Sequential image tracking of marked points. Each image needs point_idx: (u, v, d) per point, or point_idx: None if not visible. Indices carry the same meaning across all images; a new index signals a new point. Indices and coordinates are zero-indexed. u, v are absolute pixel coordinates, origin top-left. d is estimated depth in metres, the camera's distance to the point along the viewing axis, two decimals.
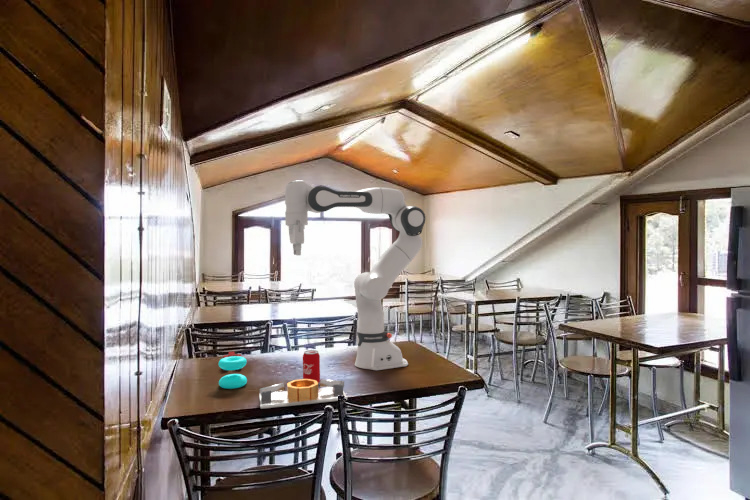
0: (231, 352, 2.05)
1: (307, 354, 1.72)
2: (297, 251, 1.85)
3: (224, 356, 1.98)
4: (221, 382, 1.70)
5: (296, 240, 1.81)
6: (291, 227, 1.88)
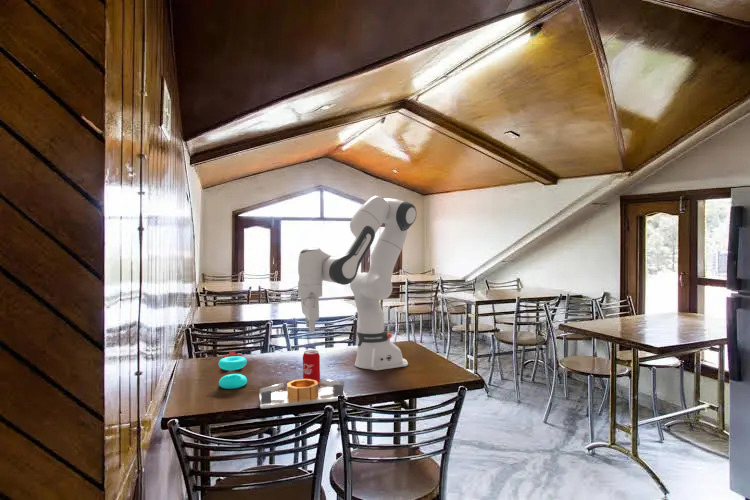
0: (231, 352, 2.06)
1: (307, 354, 1.72)
2: (311, 327, 1.68)
3: (224, 356, 1.99)
4: (221, 382, 1.70)
5: (310, 317, 1.64)
6: (304, 300, 1.71)
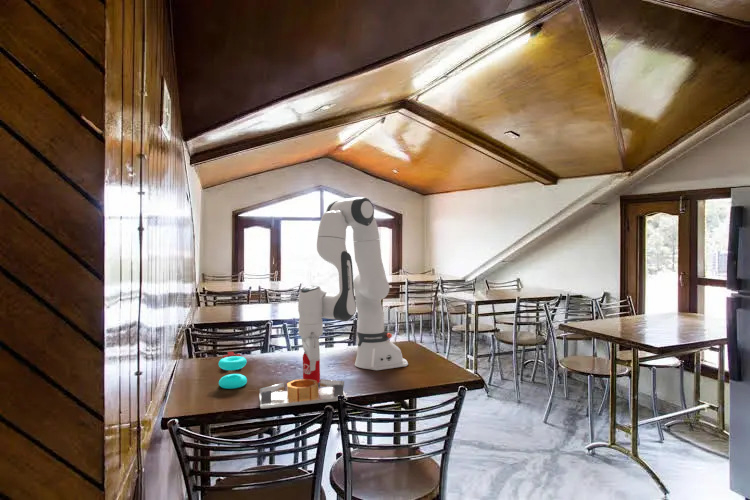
0: (230, 352, 2.05)
1: None
2: (311, 366, 1.70)
3: (224, 356, 1.98)
4: (221, 382, 1.70)
5: (311, 358, 1.64)
6: (305, 339, 1.71)
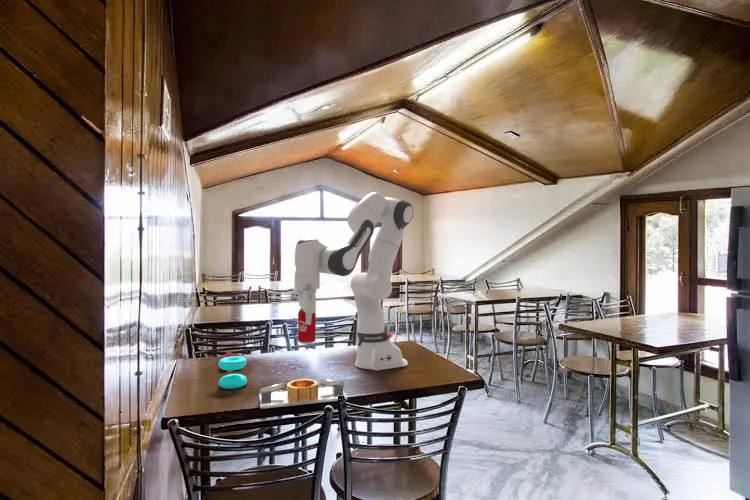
0: (228, 352, 2.05)
1: None
2: (307, 320, 1.63)
3: (222, 356, 1.98)
4: (221, 382, 1.70)
5: (307, 309, 1.58)
6: (301, 292, 1.65)
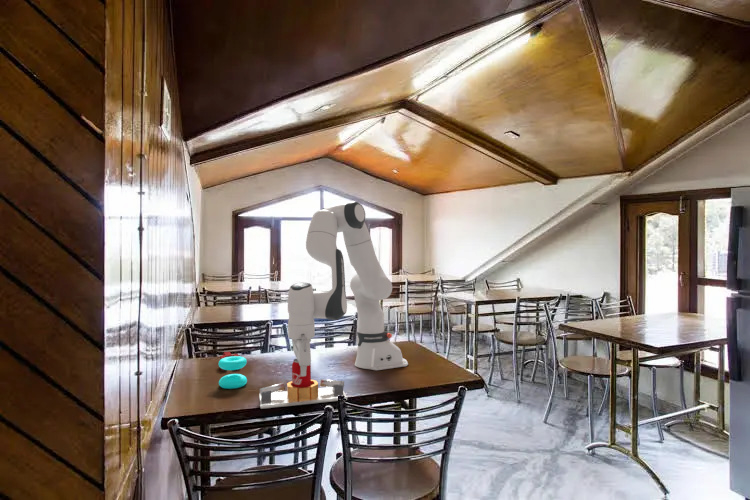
0: (227, 352, 2.05)
1: (297, 362, 1.56)
2: (302, 371, 1.54)
3: (221, 356, 1.98)
4: (221, 382, 1.70)
5: (301, 362, 1.49)
6: (295, 341, 1.56)
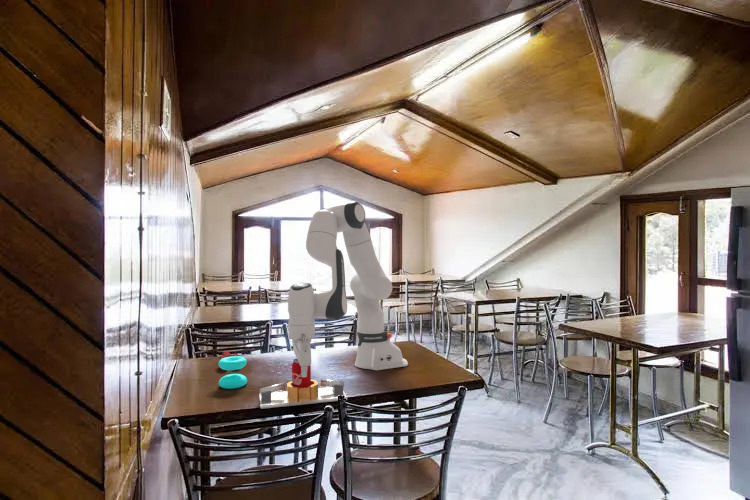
0: (226, 352, 2.05)
1: (296, 362, 1.56)
2: (302, 372, 1.53)
3: (221, 356, 1.98)
4: (221, 382, 1.70)
5: (301, 363, 1.48)
6: (295, 341, 1.56)
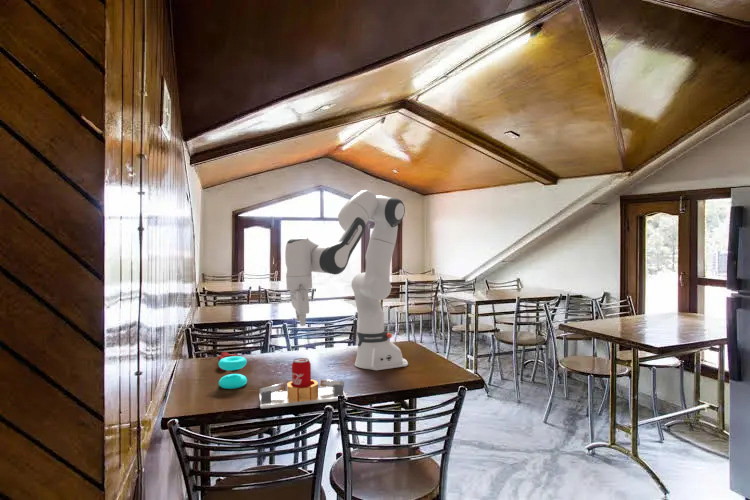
0: (224, 353, 2.05)
1: (296, 362, 1.56)
2: (301, 321, 1.60)
3: (220, 357, 1.98)
4: (221, 382, 1.70)
5: (300, 310, 1.55)
6: (293, 292, 1.62)
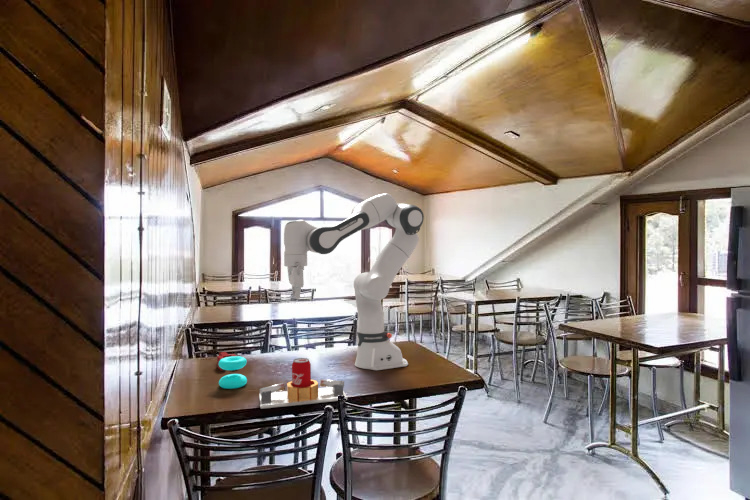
0: (223, 353, 2.05)
1: (296, 362, 1.56)
2: (296, 294, 1.78)
3: (219, 357, 1.98)
4: (221, 382, 1.70)
5: (295, 284, 1.73)
6: (290, 269, 1.80)
